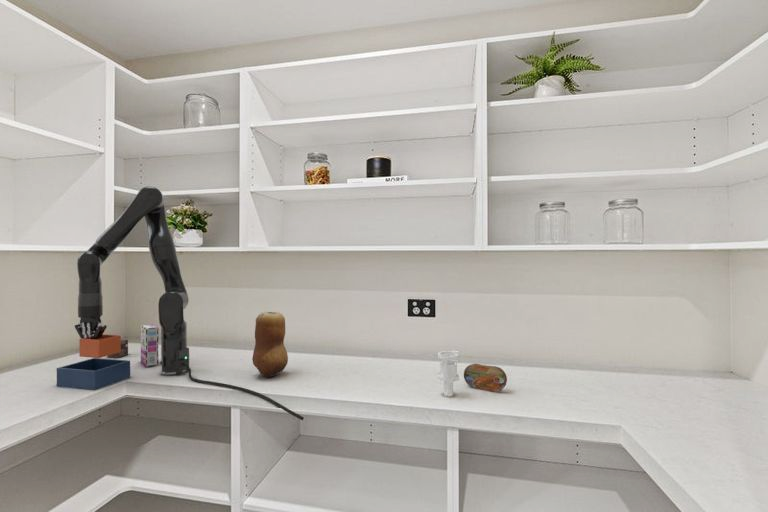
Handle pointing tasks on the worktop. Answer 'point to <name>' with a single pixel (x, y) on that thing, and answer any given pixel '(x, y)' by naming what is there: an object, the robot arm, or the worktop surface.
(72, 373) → the big bin
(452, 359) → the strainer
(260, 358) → the butternut squash
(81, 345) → the small bin
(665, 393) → the worktop surface
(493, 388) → the tin
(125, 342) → the box
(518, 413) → the worktop surface
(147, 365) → the candy bar box
